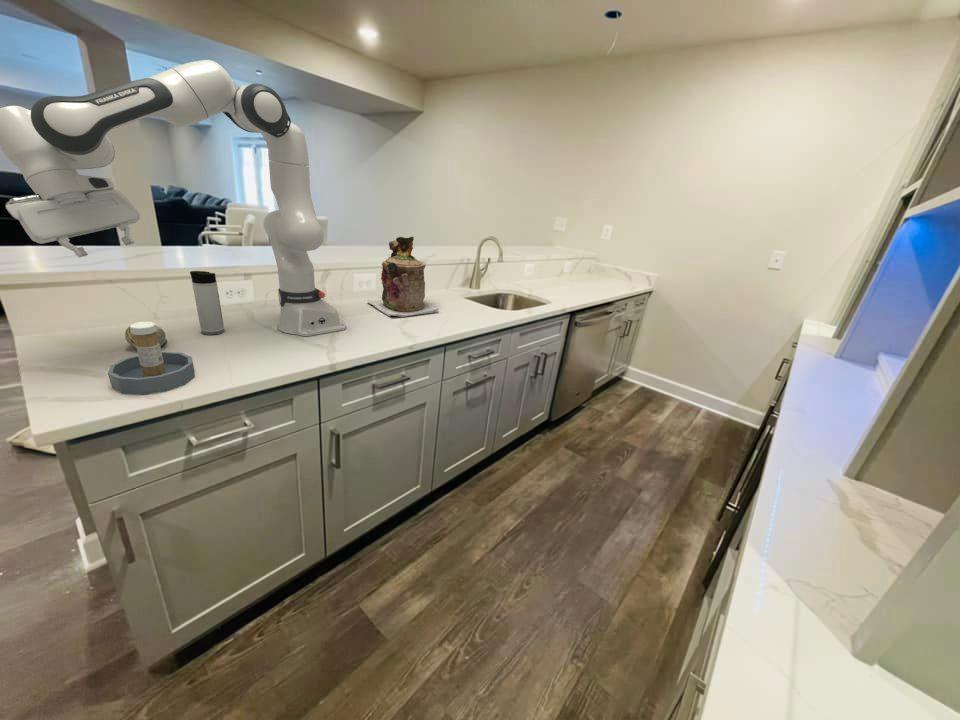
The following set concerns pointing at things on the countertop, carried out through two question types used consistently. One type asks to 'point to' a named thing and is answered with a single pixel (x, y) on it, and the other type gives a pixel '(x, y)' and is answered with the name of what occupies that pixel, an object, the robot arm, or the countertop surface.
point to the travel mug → (207, 302)
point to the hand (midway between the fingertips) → (107, 250)
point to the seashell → (160, 333)
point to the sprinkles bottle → (148, 348)
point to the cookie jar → (403, 282)
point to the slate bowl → (131, 381)
